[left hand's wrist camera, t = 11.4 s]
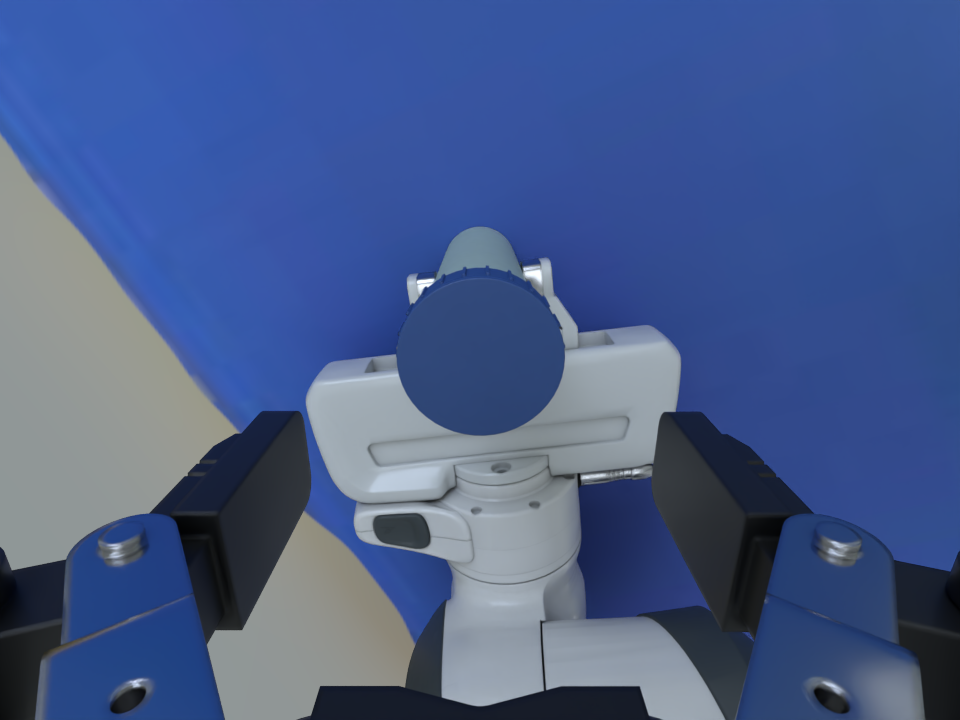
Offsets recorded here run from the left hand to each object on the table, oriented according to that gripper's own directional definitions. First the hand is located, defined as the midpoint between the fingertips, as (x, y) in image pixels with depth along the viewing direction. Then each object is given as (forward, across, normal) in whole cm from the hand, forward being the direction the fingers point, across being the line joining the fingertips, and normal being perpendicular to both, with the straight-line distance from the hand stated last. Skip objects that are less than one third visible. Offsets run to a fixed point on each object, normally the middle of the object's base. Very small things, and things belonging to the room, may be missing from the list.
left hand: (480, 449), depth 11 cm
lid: (+6, 0, 0) cm, 6 cm away
